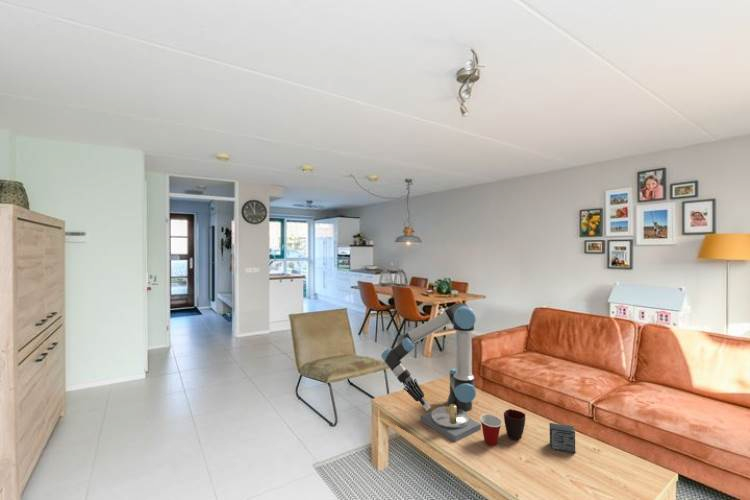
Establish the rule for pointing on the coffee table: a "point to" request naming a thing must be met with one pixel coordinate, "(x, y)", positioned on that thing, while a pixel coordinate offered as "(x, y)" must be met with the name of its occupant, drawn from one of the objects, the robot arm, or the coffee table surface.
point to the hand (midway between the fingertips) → (428, 409)
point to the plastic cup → (490, 428)
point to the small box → (562, 437)
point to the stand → (452, 433)
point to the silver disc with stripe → (450, 417)
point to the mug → (514, 423)
